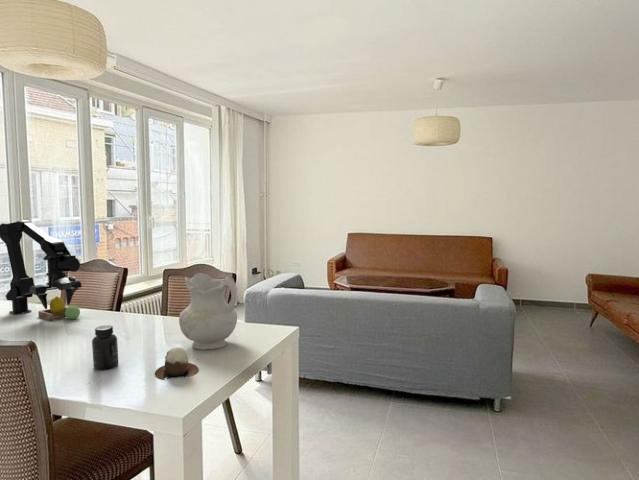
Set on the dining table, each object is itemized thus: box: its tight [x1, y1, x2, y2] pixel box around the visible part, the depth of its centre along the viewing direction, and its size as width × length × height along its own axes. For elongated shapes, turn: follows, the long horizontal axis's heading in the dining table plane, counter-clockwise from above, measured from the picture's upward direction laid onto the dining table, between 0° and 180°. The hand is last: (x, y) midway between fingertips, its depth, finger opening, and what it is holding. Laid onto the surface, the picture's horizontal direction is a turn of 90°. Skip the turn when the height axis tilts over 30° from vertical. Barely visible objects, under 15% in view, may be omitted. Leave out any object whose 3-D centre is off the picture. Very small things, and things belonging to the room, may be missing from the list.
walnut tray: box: [38, 306, 69, 321], centre depth 194 cm, size 11×11×2 cm
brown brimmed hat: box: [154, 346, 199, 381], centre depth 132 cm, size 12×10×10 cm
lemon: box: [49, 296, 66, 313], centre depth 193 cm, size 6×6×8 cm
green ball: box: [65, 305, 81, 320], centre depth 189 cm, size 6×6×6 cm
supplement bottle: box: [91, 325, 119, 371], centre depth 135 cm, size 7×7×12 cm
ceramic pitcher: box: [178, 272, 238, 351], centre depth 155 cm, size 22×20×25 cm
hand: (57, 306), depth 193 cm, fingers open, 9 cm apart
